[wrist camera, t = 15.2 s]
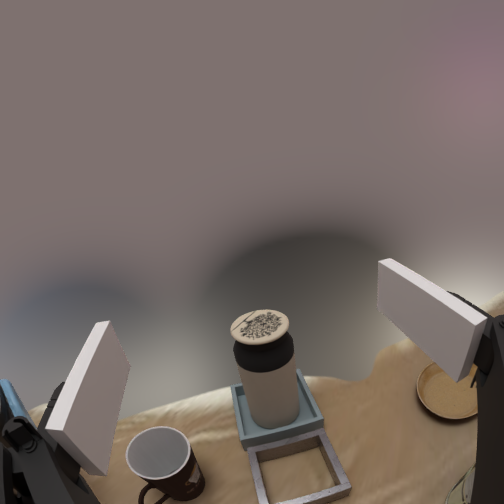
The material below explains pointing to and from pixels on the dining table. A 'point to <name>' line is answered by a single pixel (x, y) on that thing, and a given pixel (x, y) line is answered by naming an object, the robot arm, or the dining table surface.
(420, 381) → the plant saucer
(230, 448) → the dining table surface
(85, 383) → the robot arm
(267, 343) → the travel mug
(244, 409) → the tray
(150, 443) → the coffee mug
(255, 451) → the socket collar
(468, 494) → the coffee can
